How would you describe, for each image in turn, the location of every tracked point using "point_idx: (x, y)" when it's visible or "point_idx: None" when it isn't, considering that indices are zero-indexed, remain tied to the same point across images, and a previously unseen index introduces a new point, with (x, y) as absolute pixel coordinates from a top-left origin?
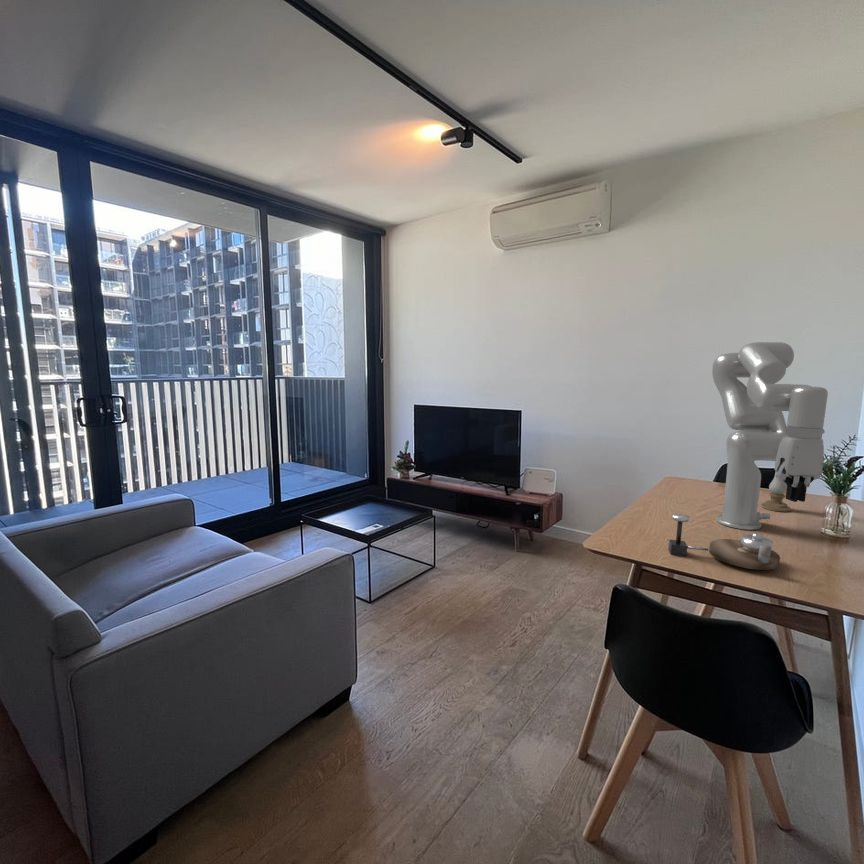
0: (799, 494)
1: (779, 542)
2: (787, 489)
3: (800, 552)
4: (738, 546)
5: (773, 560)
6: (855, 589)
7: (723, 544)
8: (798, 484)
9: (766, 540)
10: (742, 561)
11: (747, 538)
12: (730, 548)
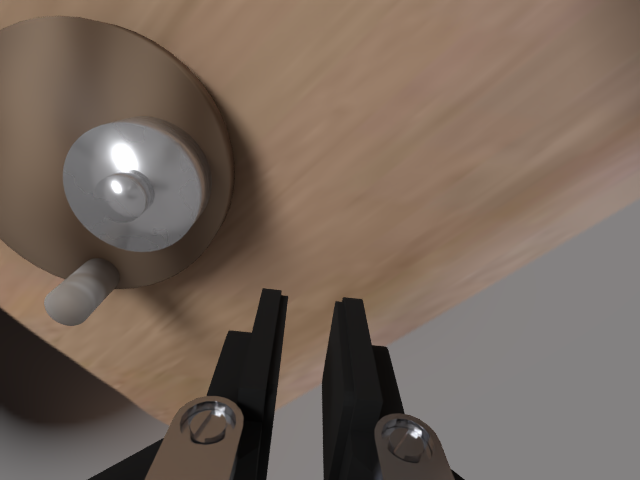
0: (327, 394)
1: (472, 3)
2: (211, 386)
3: (442, 133)
4: (96, 126)
5: (146, 276)
6: (317, 384)
7: (32, 89)
8: (346, 456)
9: (171, 209)
10: (21, 253)
11: (88, 170)
12: (40, 140)
